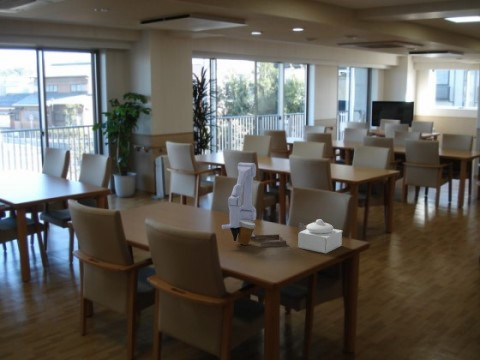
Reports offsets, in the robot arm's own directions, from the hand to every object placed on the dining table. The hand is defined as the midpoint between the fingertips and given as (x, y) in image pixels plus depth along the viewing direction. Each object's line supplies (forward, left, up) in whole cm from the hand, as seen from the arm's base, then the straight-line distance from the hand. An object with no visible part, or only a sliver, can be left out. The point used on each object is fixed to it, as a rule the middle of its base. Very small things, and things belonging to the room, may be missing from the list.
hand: (234, 240), depth 310 cm
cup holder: (0, +21, -2) cm, 21 cm away
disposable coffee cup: (0, +5, -2) cm, 5 cm away
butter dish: (+14, +46, -3) cm, 48 cm away
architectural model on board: (-7, +45, -3) cm, 45 cm away
